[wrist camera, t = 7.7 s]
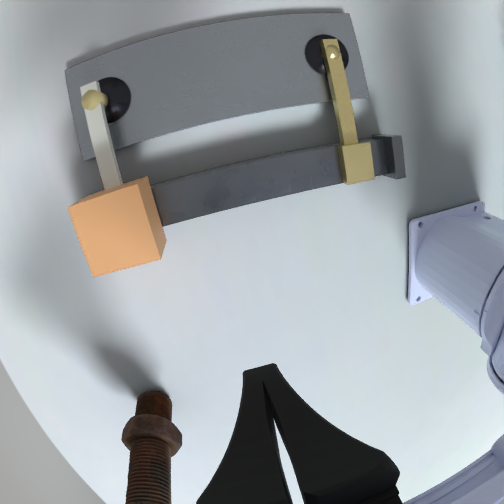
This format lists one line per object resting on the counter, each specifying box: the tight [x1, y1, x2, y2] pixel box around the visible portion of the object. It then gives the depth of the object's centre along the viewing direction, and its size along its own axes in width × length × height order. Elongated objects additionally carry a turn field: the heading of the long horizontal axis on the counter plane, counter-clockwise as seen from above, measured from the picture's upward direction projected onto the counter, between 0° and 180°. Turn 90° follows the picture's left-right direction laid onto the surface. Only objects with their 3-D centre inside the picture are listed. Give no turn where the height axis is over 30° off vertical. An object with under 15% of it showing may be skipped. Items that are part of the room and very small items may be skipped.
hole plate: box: [65, 13, 369, 161], centre depth 17 cm, size 19×6×1 cm, turn 102°
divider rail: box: [151, 39, 406, 227], centre depth 17 cm, size 21×10×3 cm, turn 102°
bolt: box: [122, 391, 182, 504], centre depth 18 cm, size 6×5×15 cm
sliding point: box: [68, 81, 166, 277], centre depth 15 cm, size 4×10×4 cm, turn 12°
